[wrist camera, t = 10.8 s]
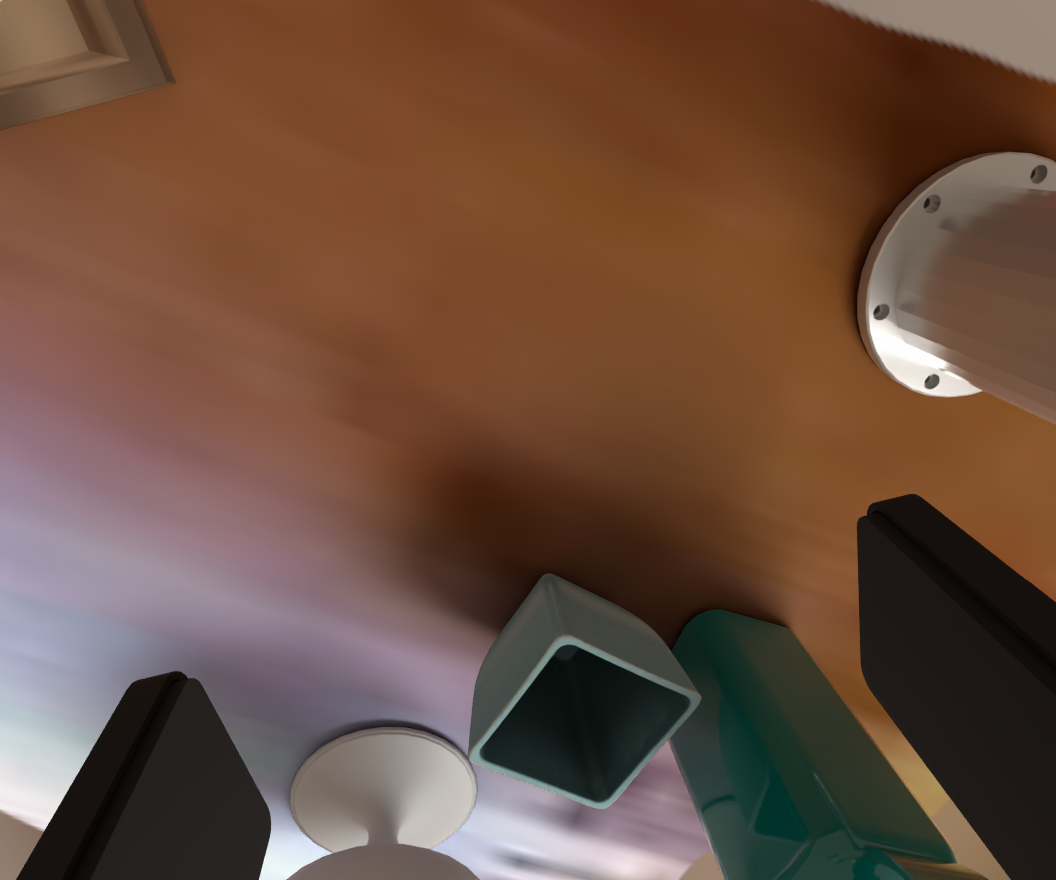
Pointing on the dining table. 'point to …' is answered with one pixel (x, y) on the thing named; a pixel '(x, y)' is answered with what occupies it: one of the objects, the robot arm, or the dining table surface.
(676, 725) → the flower pot
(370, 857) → the chalice
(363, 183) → the dining table surface
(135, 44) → the walnut pedestal
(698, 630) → the pitcher
